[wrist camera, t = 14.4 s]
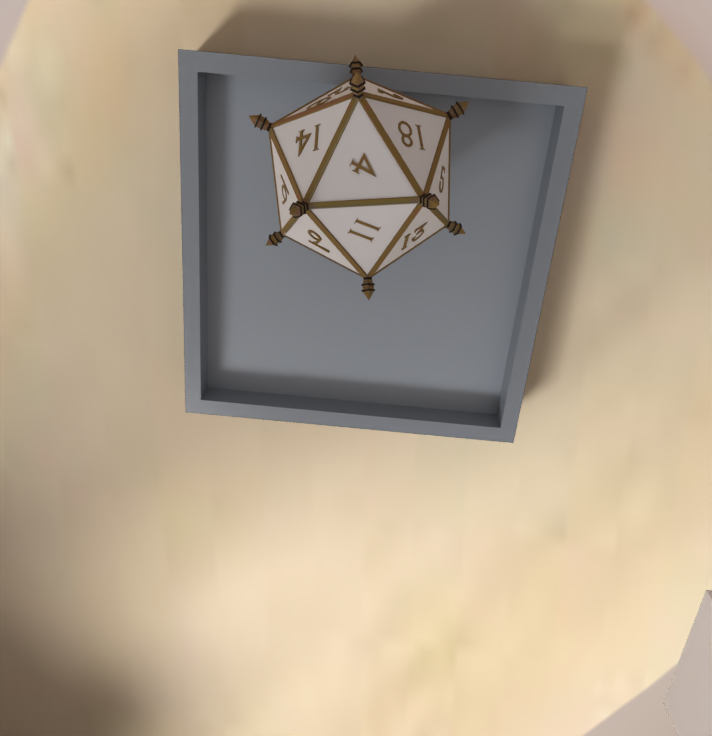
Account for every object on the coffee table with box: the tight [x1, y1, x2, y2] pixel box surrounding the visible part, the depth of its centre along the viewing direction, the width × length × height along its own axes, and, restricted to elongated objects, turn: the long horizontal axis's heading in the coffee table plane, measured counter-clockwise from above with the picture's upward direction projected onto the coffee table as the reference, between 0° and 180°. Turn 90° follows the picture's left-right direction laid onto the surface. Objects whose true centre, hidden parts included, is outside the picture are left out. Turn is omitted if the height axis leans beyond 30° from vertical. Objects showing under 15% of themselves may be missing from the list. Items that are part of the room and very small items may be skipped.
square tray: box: [178, 49, 587, 443], centre depth 33 cm, size 17×17×3 cm
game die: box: [249, 55, 469, 300], centre depth 27 cm, size 9×8×10 cm
